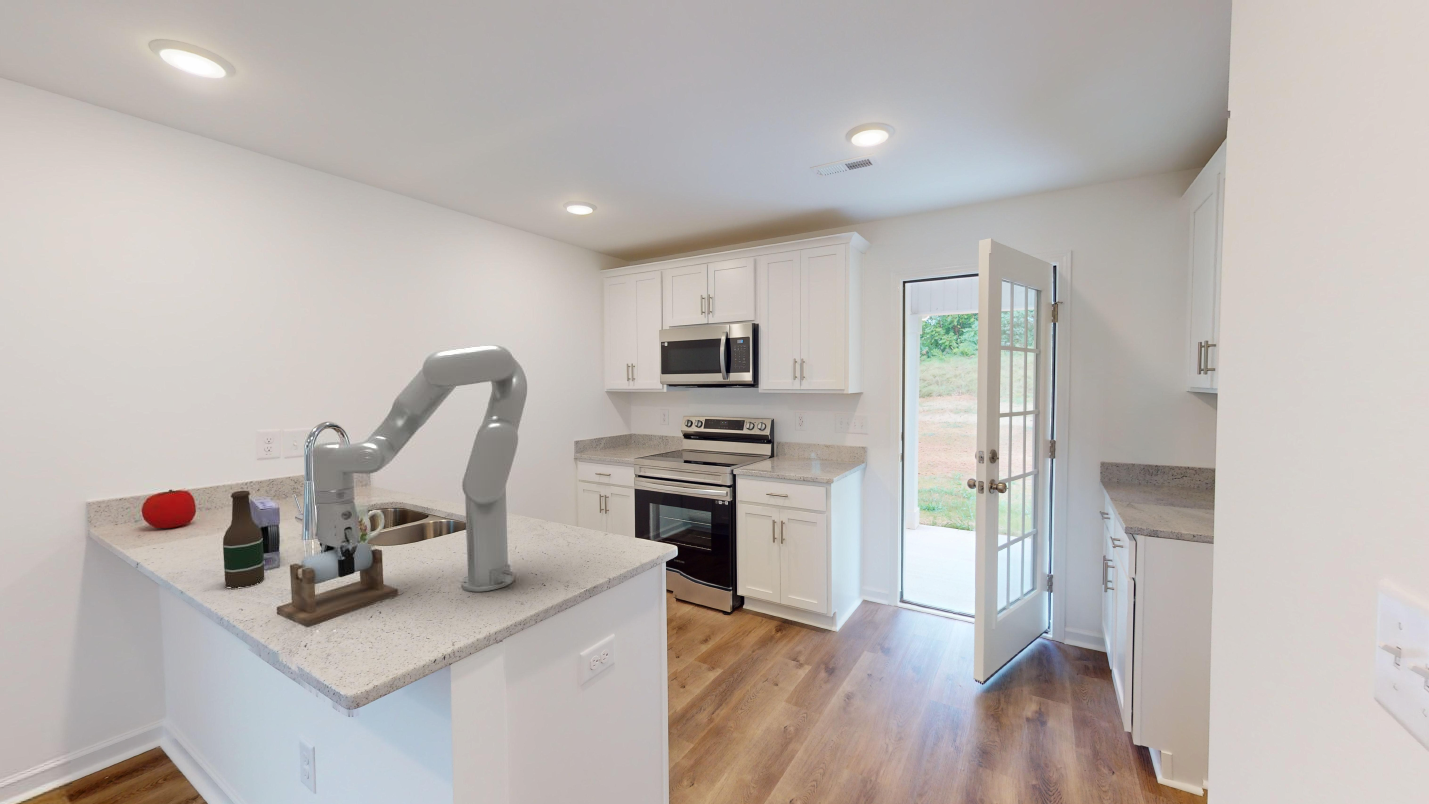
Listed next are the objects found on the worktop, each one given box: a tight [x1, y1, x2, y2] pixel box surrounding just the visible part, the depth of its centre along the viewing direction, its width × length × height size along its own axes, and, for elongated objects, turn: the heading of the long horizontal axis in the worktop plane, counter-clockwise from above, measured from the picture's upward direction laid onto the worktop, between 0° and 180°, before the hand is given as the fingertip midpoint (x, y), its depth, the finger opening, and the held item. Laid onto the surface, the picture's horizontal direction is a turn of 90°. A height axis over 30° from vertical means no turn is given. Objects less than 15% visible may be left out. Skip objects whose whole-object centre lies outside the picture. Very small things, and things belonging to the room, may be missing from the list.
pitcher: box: [336, 504, 385, 549], centre depth 165 cm, size 11×18×14 cm, turn 146°
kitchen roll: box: [298, 542, 373, 585], centre depth 125 cm, size 6×15×6 cm, turn 150°
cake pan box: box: [249, 496, 281, 571], centre depth 155 cm, size 19×5×18 cm, turn 47°
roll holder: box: [276, 548, 399, 628], centre depth 126 cm, size 14×19×11 cm
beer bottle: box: [222, 490, 265, 588], centre depth 139 cm, size 8×8×24 cm
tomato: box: [141, 488, 197, 529], centre depth 195 cm, size 16×14×14 cm
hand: (338, 571), depth 126 cm, fingers closed on kitchen roll, 6 cm apart
